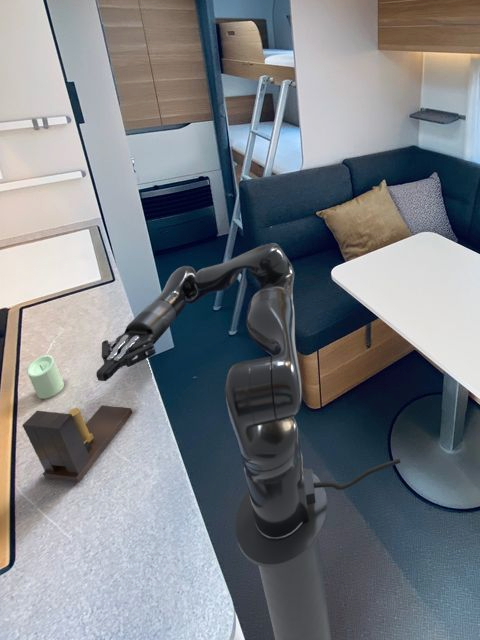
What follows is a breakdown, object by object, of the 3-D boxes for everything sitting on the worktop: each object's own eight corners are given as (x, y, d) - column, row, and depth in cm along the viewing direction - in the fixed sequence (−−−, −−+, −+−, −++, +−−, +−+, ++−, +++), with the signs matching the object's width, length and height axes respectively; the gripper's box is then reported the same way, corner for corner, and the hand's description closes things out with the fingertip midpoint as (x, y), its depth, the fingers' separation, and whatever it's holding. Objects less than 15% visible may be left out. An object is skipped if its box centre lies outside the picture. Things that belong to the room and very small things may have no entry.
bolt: (84, 436, 82) (72, 407, 79) (93, 437, 82) (82, 408, 79) (60, 466, 77) (46, 435, 74) (69, 467, 76) (56, 436, 73)
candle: (57, 396, 94) (46, 369, 91) (33, 401, 93) (20, 373, 90) (68, 380, 98) (57, 353, 95) (44, 383, 97) (33, 357, 94)
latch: (103, 410, 90) (85, 363, 85) (132, 412, 89) (116, 365, 84) (45, 478, 76) (19, 427, 71) (78, 482, 76) (55, 431, 70)
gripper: (180, 336, 101) (134, 394, 85) (131, 333, 103) (76, 389, 87) (174, 311, 98) (125, 366, 82) (123, 308, 100) (65, 361, 84)
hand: (100, 377), depth 84 cm, fingers closed
